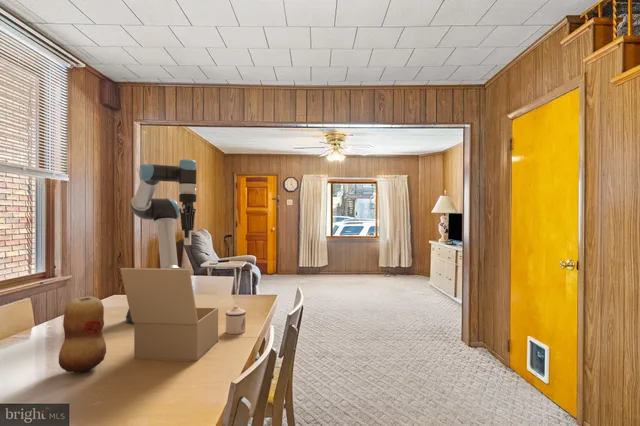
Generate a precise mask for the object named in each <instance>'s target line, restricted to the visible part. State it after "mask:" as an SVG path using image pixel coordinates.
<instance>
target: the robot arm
mask: <svg viewBox="0 0 640 426" xmlns="http://www.w3.org/2000/svg"><path fill="white" fill-rule="evenodd" d="M138 177H139V179H140V182H139V185H138V188H137V190H136V193H135V195H134V196H133V197H132V198H131V200H130V203H129V204H130V210H131V212H132V213H133V214H134V215H135V216H137V217H138V218H140V219H143V220H147V221H148V220H153V224H154V225H155V226H157V227H156V228H157V229H156V230H157V238H158V240H157V241H158V251H159V265H160V269H182V267H179V262H178V255H177V254H178V251H177V244H176V234H175V233H176V232H175V224H176V223H177V220H179V218H180V224H181V231H184V232H183V239H184V240H183V241H184V242H183V244H184V246H191V245H192V231H194V227H195V218H196V217H195V216H196V211H197V209H196V208H195V207H194V203H196V202H197V194H196V193H197V188H198V186H197V162H196V160H195V159H187V158H186V159H185V158H183V159H180V160H179V162H178V165H165V164H152V163H142V164H140V166H139V171H138ZM159 182H169V183H170V182H171V183H172V182H173V183H178V192H179V194H178V201H179V203H181V208H179V205H178V202H177V200H175V199H173V198H154V194H155V191H156V189H157V187H158V184H159ZM125 323H126V324H129V325H130V324H131V325H134V322H132V318H131V314H130V310H129V308H128V309H127V313H126V315H125Z"/></svg>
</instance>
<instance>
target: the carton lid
mask: <svg viewBox="0 0 640 426" xmlns="http://www.w3.org/2000/svg"><path fill="white" fill-rule="evenodd" d="M120 273H121V278H122V282H123V287H124V291H125V295H126V300H127V304H128V309H129V310H130V314H131V318H132V322H135V323H175V324H198V318H197V312H196V308H197V306H196V300H195V299H196V298H195V295H194V289H193V287H194V286H193V282H192V281H193V280H192V275H191V269H190V268H181V269H161V268H154V267H153V268H148V267H147V268H145V267H143V268H142V267H140V268H139V267H135V268H134V267H121V268H120Z"/></svg>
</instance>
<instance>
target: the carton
mask: <svg viewBox="0 0 640 426" xmlns="http://www.w3.org/2000/svg"><path fill="white" fill-rule="evenodd" d="M196 312H197V318H198V324H175V323H135V322H134V324H133V325H134V326H133V327H134V328H133V329H134V332H133V334H134V335H133V337H134V338H133V340H134V341H133V342H134V343H133V347H134V348H133V349H134V350H133V354H134V355H133V356H134V357H133V359H134V360H155V361H156V360H158V361H182V362H185V361H186V362H199V360H200V359H201V358H202V357H203V356H204V355H205V354H206V353H207V352H209V350H211V348H213V347H214V346H215V345H216V344H217V343H219V307H196Z"/></svg>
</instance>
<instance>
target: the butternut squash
mask: <svg viewBox="0 0 640 426" xmlns="http://www.w3.org/2000/svg"><path fill="white" fill-rule="evenodd" d="M104 313H105V308H104V305H103V302H102V300H100V299H99V298H98V297H95V296H81V297H76V298H74V299H72V300H71V301H69V302H68V303H67V304H66V306H65V309H64V313H63V314H64V315H63V321H62V327H63V332H64V334H63V335H64V340H63V343H62V345H61V348H60V350H59V352H58V365H59V367H60V368H61V369H62V370H64V371H65V372H67V373H75V374H76V373H79V374H83V373H84V374H85V373H87V372H90V371H92V370H93V369H95V368H96V367H97V366H99V365H100V364H101V363H102V362H103V361H104V360H105V356H106V354H107V344H106V341H105V338H104V334H103V328H104V325H105V320H104Z"/></svg>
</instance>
